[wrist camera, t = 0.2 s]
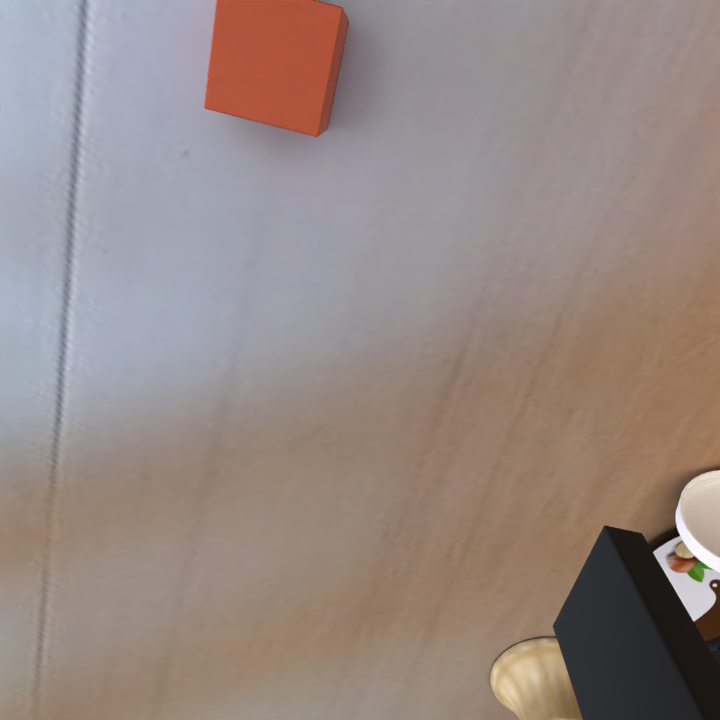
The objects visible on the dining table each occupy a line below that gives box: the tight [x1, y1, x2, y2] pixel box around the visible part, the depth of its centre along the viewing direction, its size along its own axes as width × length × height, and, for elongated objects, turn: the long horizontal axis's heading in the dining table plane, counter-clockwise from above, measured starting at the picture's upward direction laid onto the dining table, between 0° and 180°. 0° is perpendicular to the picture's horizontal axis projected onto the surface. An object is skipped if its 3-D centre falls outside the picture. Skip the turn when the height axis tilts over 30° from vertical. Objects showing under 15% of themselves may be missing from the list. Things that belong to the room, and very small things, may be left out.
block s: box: [204, 0, 349, 137], centre depth 27 cm, size 5×5×5 cm
